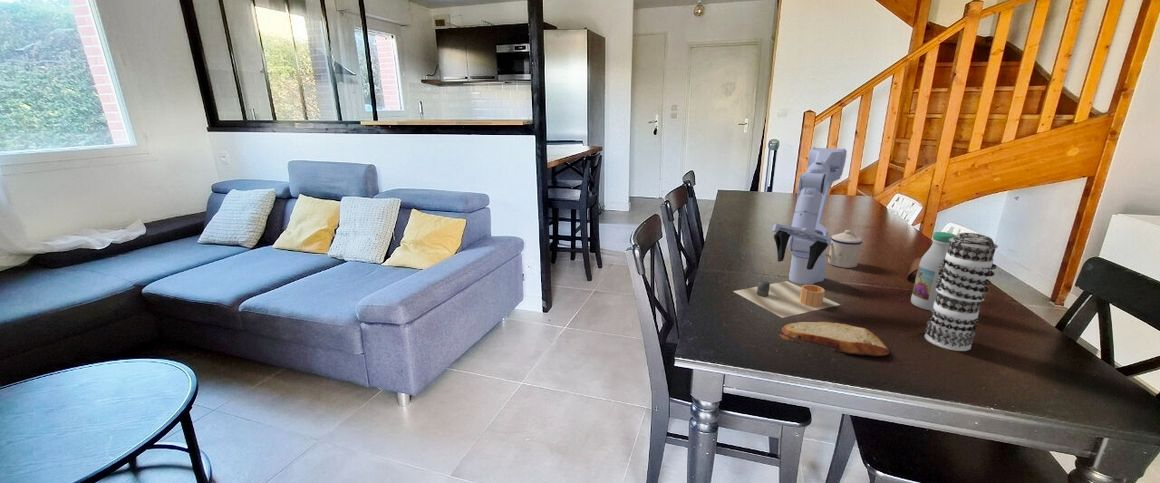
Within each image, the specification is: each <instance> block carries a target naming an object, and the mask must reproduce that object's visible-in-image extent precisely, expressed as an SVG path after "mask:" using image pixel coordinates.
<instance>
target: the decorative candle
mask: <svg viewBox="0 0 1160 483" xmlns="http://www.w3.org/2000/svg"><path fill="white" fill-rule="evenodd" d="M955 235H956V236H954V237H953V238H949V241H950V245H949V249H948V251H947V253H946V257H945V259H946V260H945V259H943V260H942V261H943V262H944V263H941V264H940V266H939V268H940V270H939V272H938V274H939V276H940V278H938V281H937V285H936V286H937V287H935V288H936V291H937V292H938V294H937V298H936V300H935V302H934V306H933V307H932V308H931V310H929V311H930V314H929V315H928V318H929V320H927V322H926V326H927V327H926V328H925V330H924V331H925V334H924V335H923V336H924V339H925V340H926V341H927V342H929V343H930V344H931V345H935V346H937V347H940V348H942V349H945V350H949V351H955V352H966V351H970V350H971V349H972V344H974V338H975V336H976V332H974V331H976V330H977V328H978V325H977V324H979V321H980V319H979V314H980V306H981V302H983V301H985V299H986V296H985V295H984V293H986V292H989V291H990V289H989V287H987V286H990V285H991V283H992V281H991V280H990V279H989V278H991V277H993V276H995V272H994V271H992V270H996V269H997V265H996V264H994V261H995V260H994V255H995V252H996V249H998V247H999V246H998V245H997V244H996V243H995V242H994V240H993V238H992V237H990V236H987V235H985V234H981V233H974V232H973V233H972V232H960V233H957V234H955ZM944 266H945V267H944ZM942 273H943V274H942ZM988 277H989V278H988Z"/></svg>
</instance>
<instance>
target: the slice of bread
mask: <svg viewBox="0 0 1160 483" xmlns="http://www.w3.org/2000/svg"><path fill="white" fill-rule="evenodd" d="M778 335H779V336H780V337H781V339H783V340H786V341H790V342H793V343H796V344H800V345H801V343H800V342H798V341H797V340H801V341H805V342H809V343H814V344H817V345H821V346H826V347H830V348H834V350H833V352H836V353H837V352H838V353H845V354H849V355H859V356H870V357H885V356H887V355H890V354H891V352H890V349H889V348H888V347H887V345H885V342H884V341H882V340H881V339H880V338H879V337H878V336H877V335H876V334H875V333H873V332H872V331H871V330H869V329H867V328H865V327H860V326H855V325H850V324H846V323H839V322H829V321H817V322H816V321H798V322H791V323H787V324H785V325H783V327H782V328H781V332H779V334H778ZM793 338H794V339H793ZM795 339H797V340H795Z"/></svg>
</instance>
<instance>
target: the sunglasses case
mask: <svg viewBox="0 0 1160 483" xmlns="http://www.w3.org/2000/svg"><path fill="white" fill-rule="evenodd" d="M921 259H922V257H916V258H915V259H913V260H912V262H911V264H910V267H909V270H908V272H907V276H906V280H907V281H908V282H909V283H913V284H915V279H916V275H917V271H918V267H919V264H920V261H921Z"/></svg>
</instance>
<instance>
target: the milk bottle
mask: <svg viewBox="0 0 1160 483" xmlns="http://www.w3.org/2000/svg"><path fill="white" fill-rule="evenodd" d="M956 235H957V234H954V233H950V232H946V231H935V232H934V233H933V234H932V240H931V241H932V243H931V246H930V247H929V248H928V250H927V251H926V252H925V253H924V254H923V256H922V257H921V261H920V264H919V267H918V271H917V275H916V279H915V283H913V288H912V293H911V297H910V302H911V304H912V305H914V307H916V308H919V309H922V310H926V311H930V310H931V308H932V307H933V306H934V302H935V300H936V298H937V294H938V292H937V291H936V288H935V287H937V286H936V285H937V281H938V278H940V276H939V274H938V272H939V270H940V268H939V266H940V264H941V263H944V262H943V261H942V260H943V259H945V257H946V253H947V251H948V249H949V245H950V241H949V238H953V237H954V236H956ZM945 260H946V259H945ZM944 267H945V266H944ZM942 274H943V273H942Z"/></svg>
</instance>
